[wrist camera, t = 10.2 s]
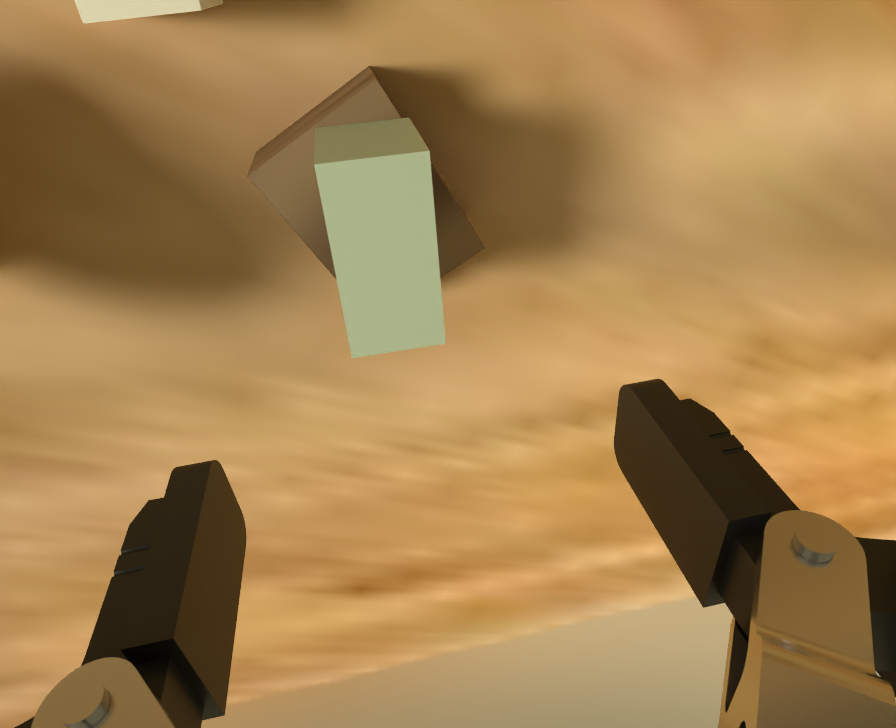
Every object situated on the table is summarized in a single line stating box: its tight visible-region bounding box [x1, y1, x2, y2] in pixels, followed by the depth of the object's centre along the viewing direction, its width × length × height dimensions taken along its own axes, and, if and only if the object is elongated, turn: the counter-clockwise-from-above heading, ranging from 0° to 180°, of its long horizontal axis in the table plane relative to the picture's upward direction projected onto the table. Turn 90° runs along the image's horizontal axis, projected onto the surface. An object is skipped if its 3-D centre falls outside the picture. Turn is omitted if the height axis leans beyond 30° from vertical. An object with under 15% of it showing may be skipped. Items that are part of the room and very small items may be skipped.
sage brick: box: [314, 118, 446, 358], centre depth 22 cm, size 7×4×5 cm, turn 4°
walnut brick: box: [247, 66, 485, 280], centre depth 25 cm, size 8×6×4 cm
